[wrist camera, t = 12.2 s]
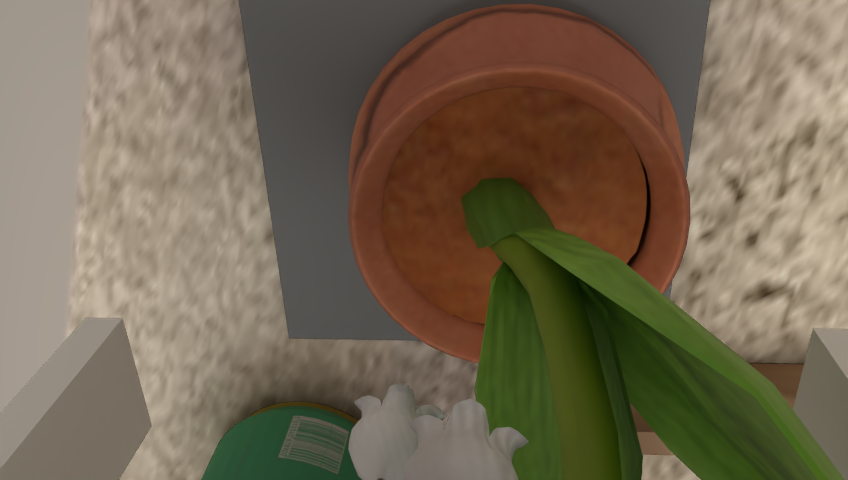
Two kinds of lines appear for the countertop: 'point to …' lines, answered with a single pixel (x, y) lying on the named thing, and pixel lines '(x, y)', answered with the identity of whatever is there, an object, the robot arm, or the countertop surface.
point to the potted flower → (545, 264)
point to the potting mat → (338, 109)
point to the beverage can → (286, 445)
